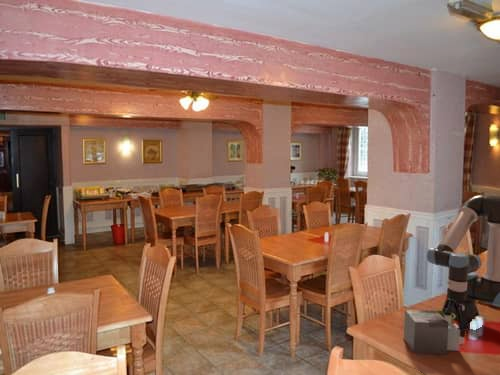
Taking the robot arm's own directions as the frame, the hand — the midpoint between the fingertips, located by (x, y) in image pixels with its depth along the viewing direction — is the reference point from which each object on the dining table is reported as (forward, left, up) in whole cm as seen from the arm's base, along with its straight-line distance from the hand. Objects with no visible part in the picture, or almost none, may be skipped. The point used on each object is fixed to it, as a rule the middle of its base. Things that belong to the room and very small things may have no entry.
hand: (453, 336), depth 178 cm
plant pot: (-3, -16, -6) cm, 17 cm away
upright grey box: (+3, 0, -6) cm, 6 cm away
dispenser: (+12, 0, -5) cm, 13 cm away
